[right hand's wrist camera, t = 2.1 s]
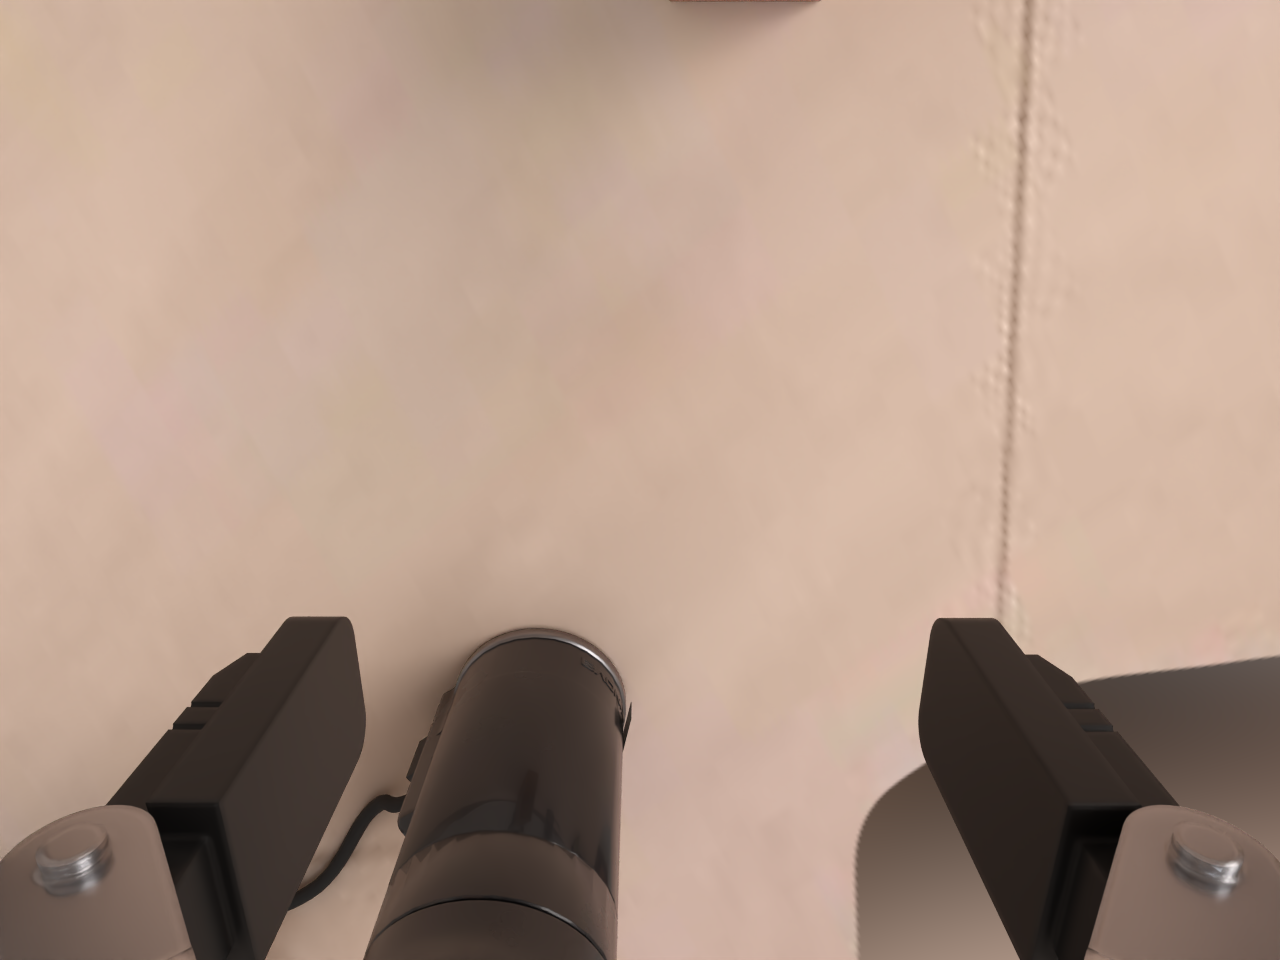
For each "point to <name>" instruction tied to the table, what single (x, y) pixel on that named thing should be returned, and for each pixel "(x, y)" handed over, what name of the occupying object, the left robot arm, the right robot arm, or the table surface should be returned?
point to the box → (745, 0)
